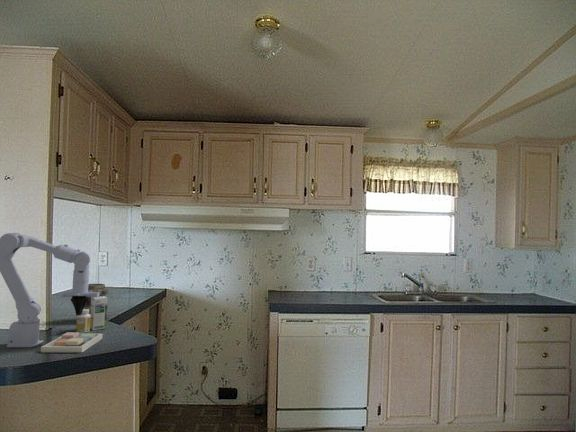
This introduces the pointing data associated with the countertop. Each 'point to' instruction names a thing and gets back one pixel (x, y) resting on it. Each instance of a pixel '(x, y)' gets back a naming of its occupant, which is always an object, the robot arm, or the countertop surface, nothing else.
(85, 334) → the key sage
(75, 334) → the key rose
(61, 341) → the key terracotta
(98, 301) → the syrup box
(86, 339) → the key slate
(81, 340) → the block
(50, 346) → the cream shallow tray
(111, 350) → the countertop surface
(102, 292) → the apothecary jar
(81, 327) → the supplement bottle
